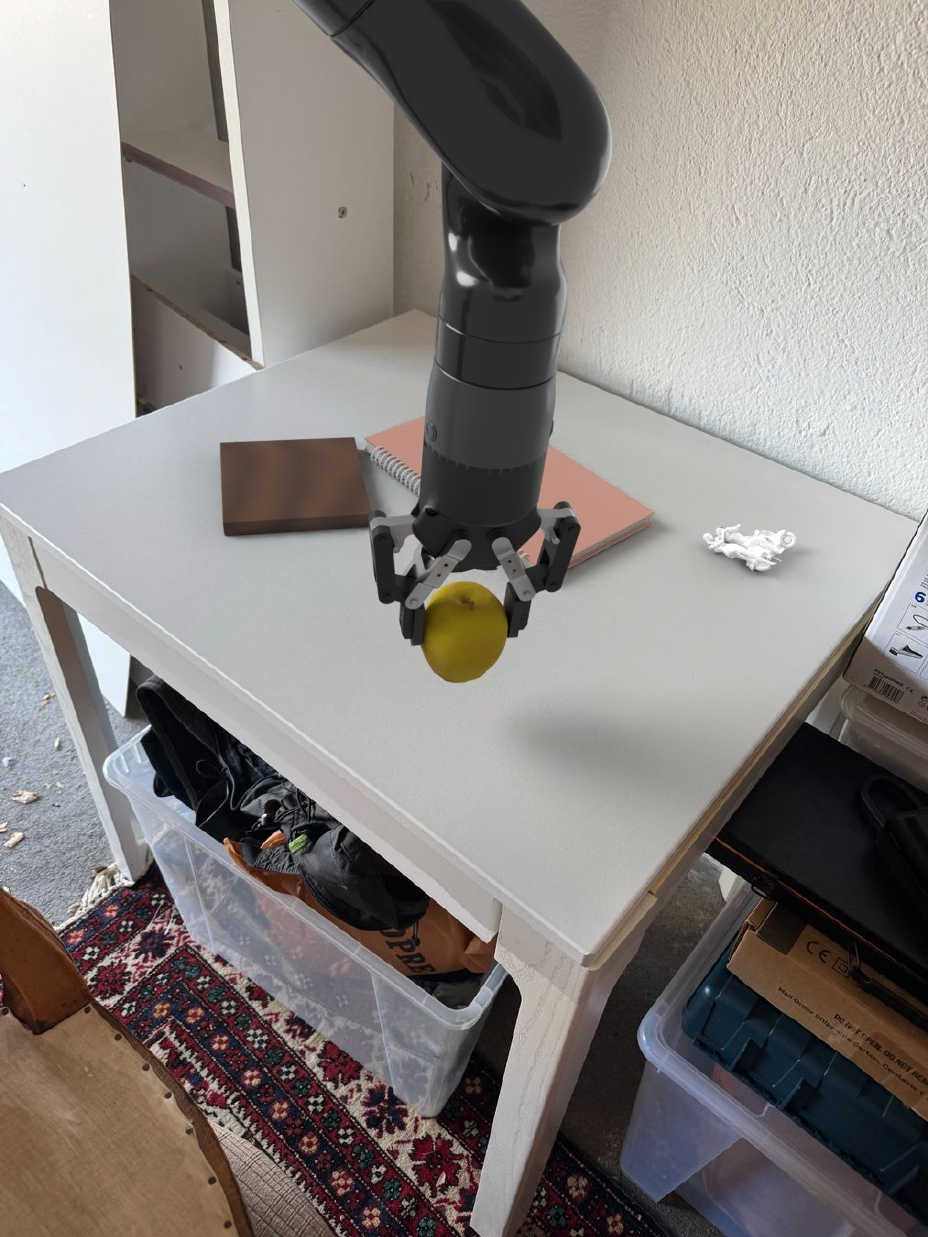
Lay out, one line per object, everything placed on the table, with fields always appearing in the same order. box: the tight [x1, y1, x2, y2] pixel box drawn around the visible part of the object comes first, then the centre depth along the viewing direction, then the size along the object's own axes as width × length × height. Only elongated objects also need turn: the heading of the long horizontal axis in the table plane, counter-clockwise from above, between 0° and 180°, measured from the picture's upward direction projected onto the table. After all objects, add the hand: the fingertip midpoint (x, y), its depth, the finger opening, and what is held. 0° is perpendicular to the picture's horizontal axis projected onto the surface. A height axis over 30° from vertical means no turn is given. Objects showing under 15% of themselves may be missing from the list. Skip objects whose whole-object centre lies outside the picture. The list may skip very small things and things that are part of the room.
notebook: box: [364, 415, 656, 570], centre depth 96 cm, size 27×17×2 cm, turn 41°
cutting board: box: [219, 436, 373, 536], centre depth 93 cm, size 14×14×2 cm
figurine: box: [702, 523, 797, 572], centre depth 91 cm, size 3×8×8 cm
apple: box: [419, 580, 508, 684], centre depth 66 cm, size 6×6×8 cm
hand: (461, 633), depth 66 cm, fingers closed on apple, 6 cm apart
